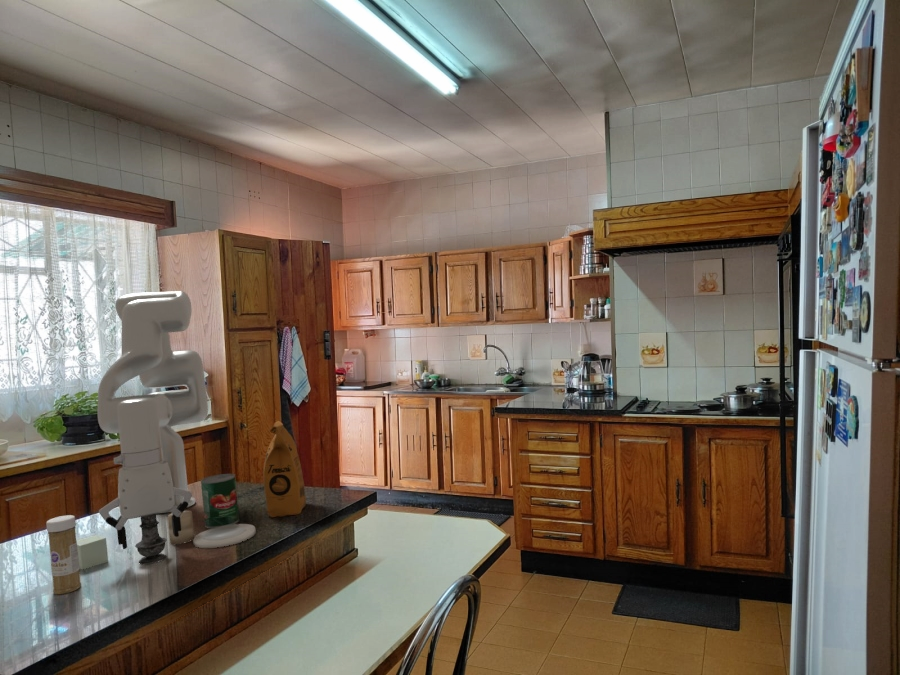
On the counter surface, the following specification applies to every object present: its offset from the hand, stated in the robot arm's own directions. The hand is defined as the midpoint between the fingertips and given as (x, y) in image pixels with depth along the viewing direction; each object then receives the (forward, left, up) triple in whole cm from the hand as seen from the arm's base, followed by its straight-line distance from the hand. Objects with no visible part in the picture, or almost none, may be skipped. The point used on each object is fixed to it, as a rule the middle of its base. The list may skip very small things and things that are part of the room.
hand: (150, 541), depth 130 cm
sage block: (-8, -11, -4) cm, 14 cm away
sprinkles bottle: (+6, -15, -4) cm, 17 cm away
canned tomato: (-16, +17, -4) cm, 24 cm away
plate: (-3, +15, -4) cm, 16 cm away
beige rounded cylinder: (-9, +7, -4) cm, 12 cm away
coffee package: (-14, +32, -4) cm, 35 cm away
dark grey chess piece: (0, 0, -4) cm, 4 cm away
